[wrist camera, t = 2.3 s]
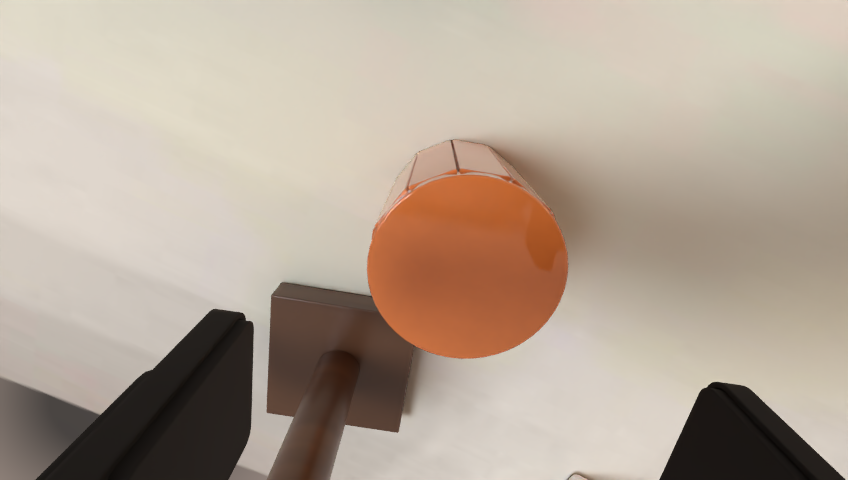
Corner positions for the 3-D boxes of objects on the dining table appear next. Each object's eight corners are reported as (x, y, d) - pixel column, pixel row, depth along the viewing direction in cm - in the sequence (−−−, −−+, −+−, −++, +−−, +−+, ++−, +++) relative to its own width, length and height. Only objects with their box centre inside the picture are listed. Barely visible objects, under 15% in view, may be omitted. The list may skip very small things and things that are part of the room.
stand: (281, 282, 24) (131, 469, 12) (420, 304, 24) (402, 509, 13) (275, 394, 27) (148, 636, 15) (400, 414, 27) (371, 667, 15)
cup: (402, 130, 21) (379, 158, 13) (536, 153, 21) (594, 194, 13) (384, 255, 24) (356, 343, 16) (505, 275, 24) (539, 372, 16)
